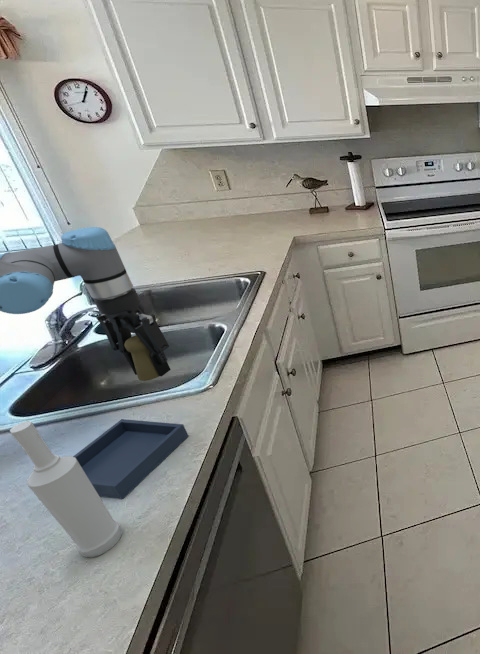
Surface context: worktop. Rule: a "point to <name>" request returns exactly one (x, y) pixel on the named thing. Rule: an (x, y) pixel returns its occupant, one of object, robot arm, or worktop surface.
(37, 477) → the bottle
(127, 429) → the tray
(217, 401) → the worktop surface
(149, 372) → the cork
